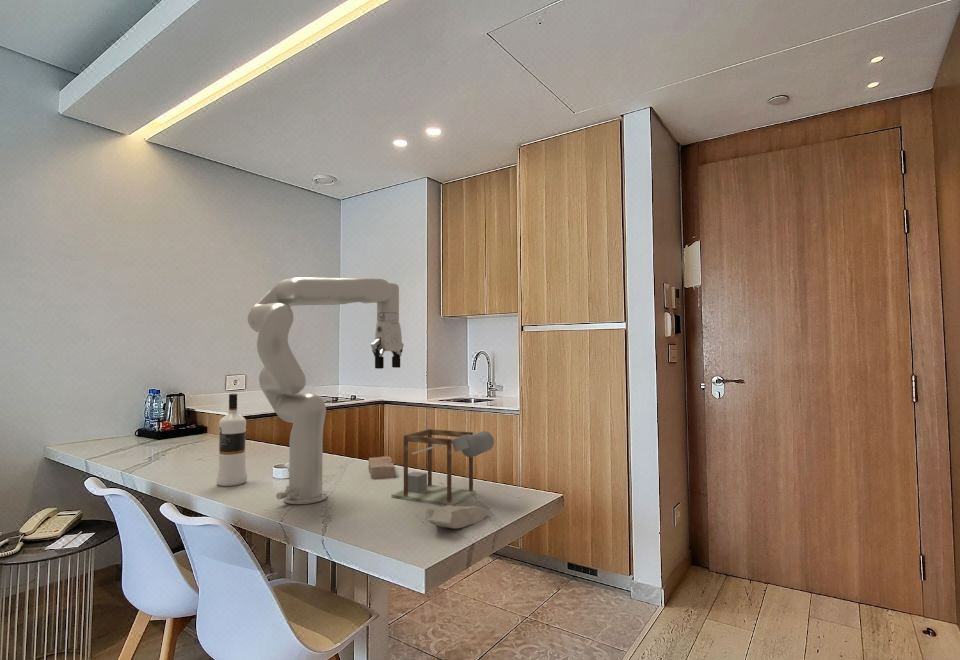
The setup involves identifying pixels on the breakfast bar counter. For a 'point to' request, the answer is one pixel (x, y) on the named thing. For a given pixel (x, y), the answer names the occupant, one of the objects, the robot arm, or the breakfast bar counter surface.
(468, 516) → the rock
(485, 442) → the trapdoor
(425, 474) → the stone block
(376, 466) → the brick
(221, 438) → the vodka
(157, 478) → the breakfast bar counter surface
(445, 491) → the trapdoor frame
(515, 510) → the breakfast bar counter surface
